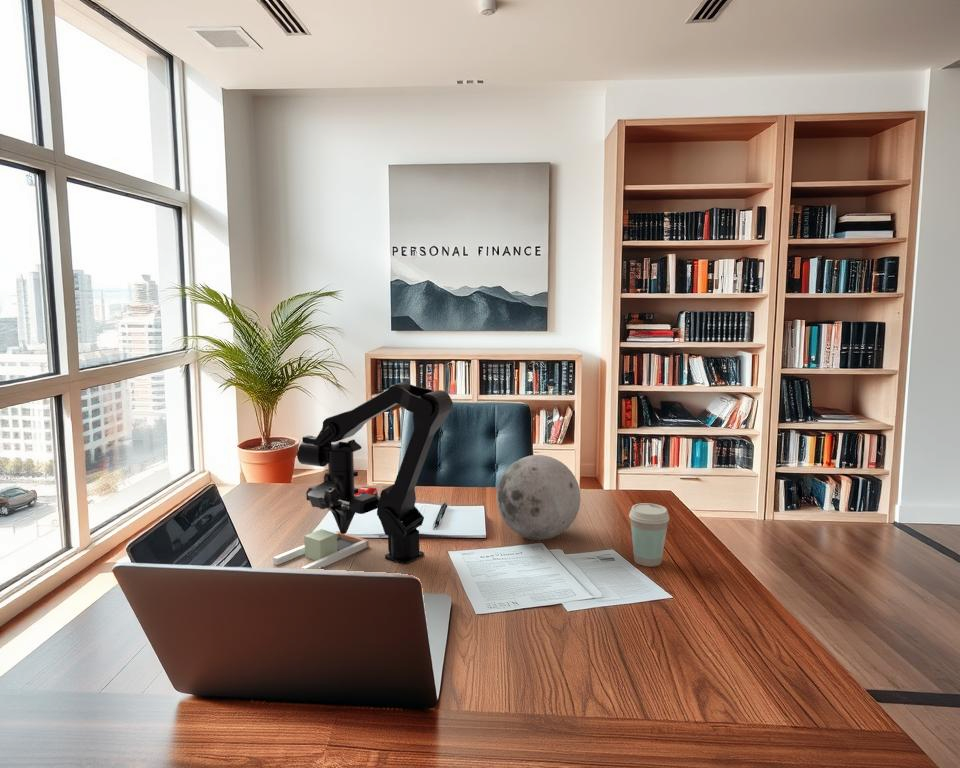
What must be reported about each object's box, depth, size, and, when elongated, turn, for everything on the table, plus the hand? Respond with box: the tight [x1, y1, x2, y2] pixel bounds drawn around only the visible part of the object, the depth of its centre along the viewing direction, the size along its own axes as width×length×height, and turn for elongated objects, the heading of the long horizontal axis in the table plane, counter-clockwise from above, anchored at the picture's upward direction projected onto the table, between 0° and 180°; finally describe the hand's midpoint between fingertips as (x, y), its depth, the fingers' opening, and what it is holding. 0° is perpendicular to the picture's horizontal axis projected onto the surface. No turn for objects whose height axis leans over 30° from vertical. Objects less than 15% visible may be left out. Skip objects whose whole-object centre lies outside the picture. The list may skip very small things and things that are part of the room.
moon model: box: [496, 454, 581, 541], centre depth 154 cm, size 20×20×20 cm
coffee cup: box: [628, 502, 670, 567], centre depth 140 cm, size 8×8×12 cm
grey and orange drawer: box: [335, 530, 370, 551], centre depth 150 cm, size 10×6×2 cm, turn 55°
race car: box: [354, 486, 379, 498], centre depth 181 cm, size 13×5×4 cm, turn 167°
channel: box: [272, 531, 367, 570], centre depth 145 cm, size 10×18×2 cm, turn 145°
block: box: [303, 528, 337, 561], centre depth 144 cm, size 5×5×5 cm
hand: (343, 533), depth 150 cm, fingers closed
